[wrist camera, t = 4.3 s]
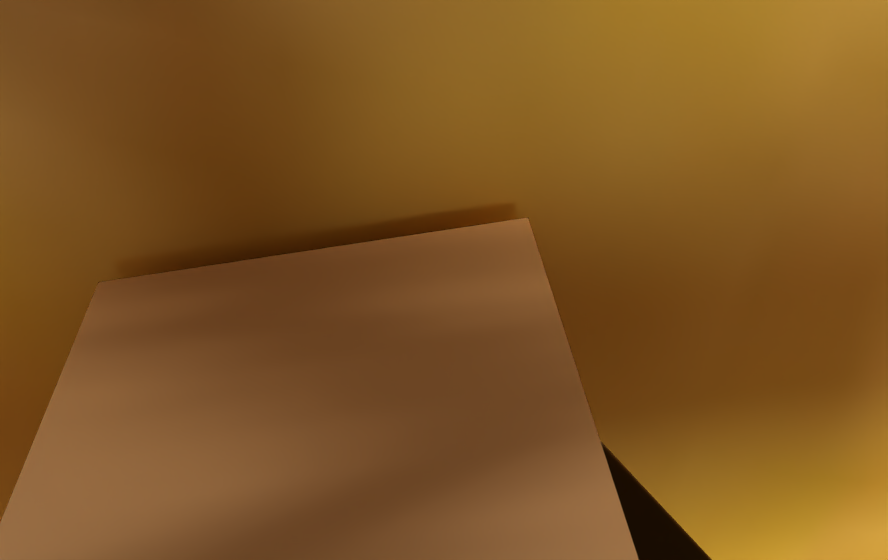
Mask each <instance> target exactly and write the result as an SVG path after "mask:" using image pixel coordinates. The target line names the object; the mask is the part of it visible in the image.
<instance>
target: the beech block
mask: <svg viewBox="0 0 888 560" xmlns="http://www.w3.org/2000/svg"><path fill="white" fill-rule="evenodd" d="M0 560H639V559H638V556H637V553H636V550H635V547H634V543H633V540H632V537H631V534H630V531H629V528H628V525H627V522H626V519H625V516H624V513H623V510H622V506H621V503H620V500H619V497H618V494H617V491H616V488H615V485H614V482H613V479H612V476H611V472H610V469H609V466H608V463H607V460H606V457H605V454H604V451H603V448H602V445H601V442H600V438H599V435H598V432H597V429H596V426H595V423H594V420H593V417H592V414H591V411H590V408H589V404H588V401H587V398H586V395H585V392H584V389H583V386H582V383H581V380H580V377H579V374H578V371H577V367H576V364H575V361H574V358H573V355H572V352H571V349H570V346H569V343H568V340H567V337H566V333H565V330H564V327H563V324H562V321H561V318H560V315H559V312H558V309H557V306H556V303H555V299H554V296H553V293H552V290H551V287H550V284H549V281H548V278H547V275H546V272H545V269H544V265H543V262H542V259H541V256H540V253H539V250H538V247H537V244H536V241H535V238H534V235H533V231H532V228H531V225H530V222H529V219H528V218H522V219H515V220H508V221H502V222H495V223H488V224H482V225H475V226H468V227H462V228H455V229H448V230H442V231H435V232H429V233H422V234H415V235H409V236H402V237H395V238H389V239H382V240H375V241H369V242H362V243H355V244H349V245H342V246H335V247H329V248H322V249H316V250H309V251H302V252H296V253H289V254H282V255H276V256H269V257H262V258H256V259H249V260H242V261H236V262H229V263H222V264H216V265H209V266H203V267H196V268H189V269H183V270H176V271H169V272H163V273H156V274H149V275H143V276H136V277H129V278H123V279H116V280H109V281H103V282H98V284H97V287H96V289H95V292H94V294H93V297H92V299H91V301H90V304H89V306H88V309H87V311H86V314H85V316H84V319H83V321H82V324H81V326H80V328H79V331H78V333H77V336H76V338H75V341H74V343H73V346H72V348H71V350H70V353H69V355H68V358H67V360H66V363H65V365H64V368H63V370H62V373H61V375H60V377H59V380H58V382H57V385H56V387H55V390H54V392H53V395H52V397H51V399H50V402H49V404H48V407H47V409H46V412H45V414H44V417H43V419H42V422H41V424H40V426H39V429H38V431H37V434H36V436H35V439H34V441H33V444H32V446H31V448H30V451H29V453H28V456H27V458H26V461H25V463H24V466H23V468H22V470H21V473H20V475H19V478H18V480H17V483H16V485H15V488H14V490H13V493H12V495H11V497H10V500H9V502H8V505H7V507H6V510H5V512H4V515H3V517H2V519H1V522H0Z"/></svg>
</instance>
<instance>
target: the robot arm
mask: <svg viewBox="0 0 888 560" xmlns="http://www.w3.org/2000/svg"><path fill="white" fill-rule="evenodd" d="M600 442H601V441H600ZM601 445H602V448H603V451H604V454H605V457H606V460H607V463H608V466H609V469H610V472H611V476H612V479H613V482H614V485H615V488H616V491H617V494H618V497H619V500H620V503H621V506H622V510H623V513H624V516H625V519H626V522H627V525H628V528H629V531H630V534H631V537H632V540H633V543H634V547H635V550H636V553H637V556H638V559H639V560H712V559H711V558H710V557H709V556H708V555H707V554H706V553H705V552H704V551H703V550H702V549H701V548H700V547H699V546H698V545H697V543H696V542H695V541H694V540H693V539H692V538H691V537H690V536H689V535H688V534H687V533H686V532H685V531H684V530H683V529H682V527H681V526H680V525H679V524H678V523H677V522H676V521H675V520H674V519H673V518H672V517H671V516H670V515H669V514H668V513H667V511H666V510H665V509H664V508H663V507H662V506H661V505H660V504H659V503H658V502H657V501H656V500H655V499H654V498H653V497H652V495H651V494H650V493H649V492H648V491H647V490H646V489H645V488H644V487H643V486H642V485H641V484H640V483H639V482H638V481H637V479H636V478H635V477H634V476H633V475H632V474H631V473H630V472H629V471H628V470H627V469H626V468H625V467H624V466H623V465H622V463H621V462H620V461H619V460H618V459H617V458H616V457H615V456H614V455H613V454H612V453H611V452H610V451H609V450H608V449H607V447H606V446H605V445H604V444H603V443H602V442H601Z"/></svg>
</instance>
